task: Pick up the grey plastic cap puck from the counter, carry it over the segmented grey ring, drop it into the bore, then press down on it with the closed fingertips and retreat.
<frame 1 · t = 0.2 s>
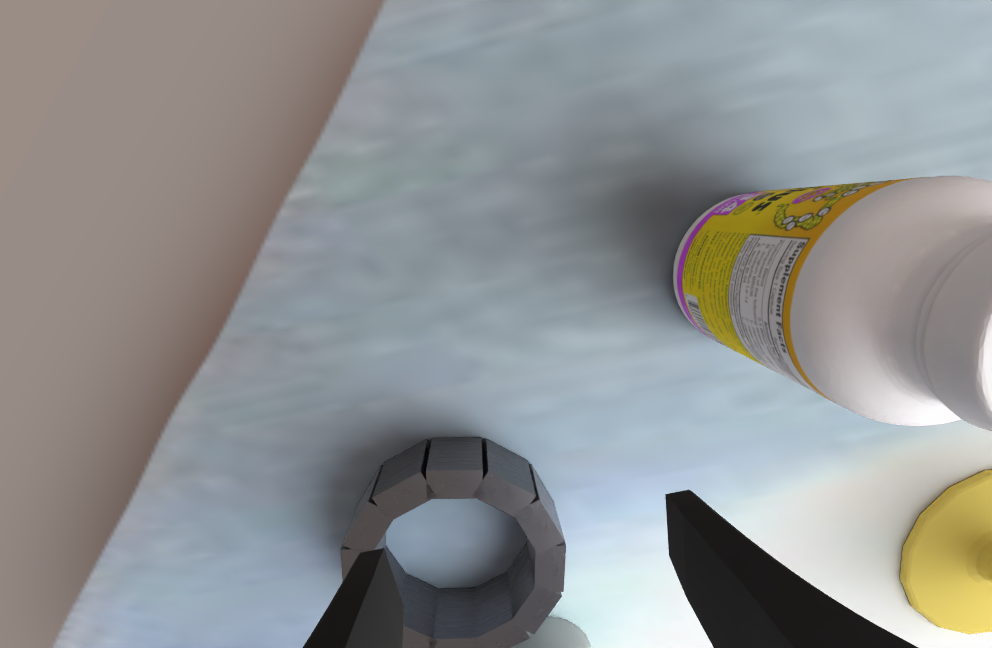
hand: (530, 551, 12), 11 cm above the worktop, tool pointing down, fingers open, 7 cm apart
segmented grey ring: (456, 527, 24), on the worktop
supplement bottle: (736, 268, 22), on the worktop
candle: (987, 548, 26), on the worktop
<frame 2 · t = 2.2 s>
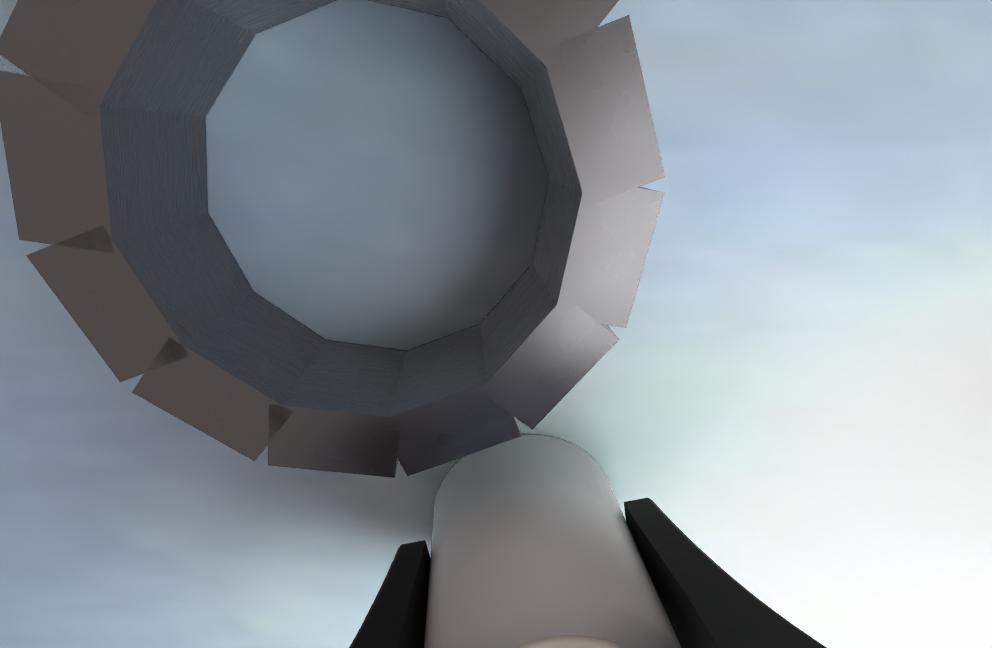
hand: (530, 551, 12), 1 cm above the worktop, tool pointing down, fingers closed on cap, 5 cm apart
segmented grey ring: (380, 195, 10), on the worktop
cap: (523, 510, 14), on the worktop, touching gripper
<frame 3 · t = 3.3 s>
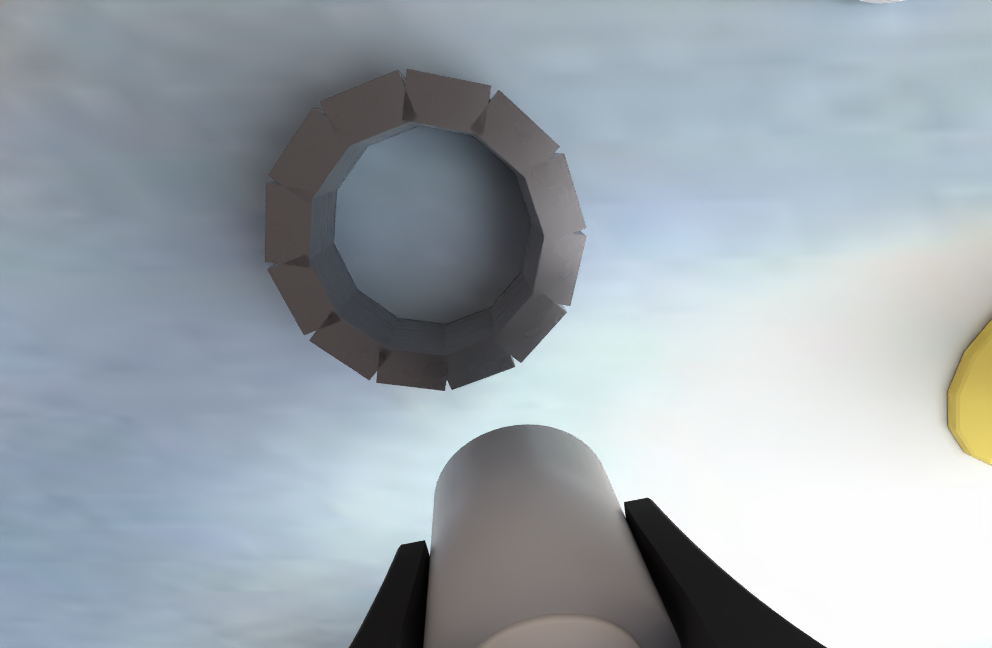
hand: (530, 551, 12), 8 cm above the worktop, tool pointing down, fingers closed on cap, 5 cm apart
segmented grey ring: (433, 232, 18), on the worktop
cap: (521, 500, 14), point 7 cm above the worktop, touching gripper
when the fingers open (5 cm above the worktop, at t = 4.8 s): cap drops 3 cm, resting in segmented grey ring.
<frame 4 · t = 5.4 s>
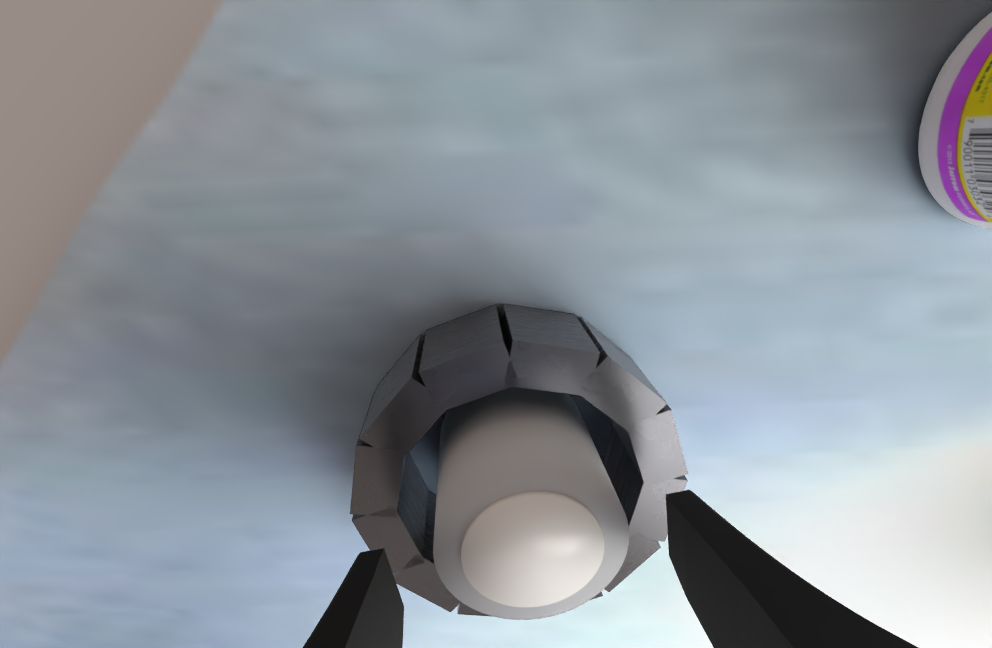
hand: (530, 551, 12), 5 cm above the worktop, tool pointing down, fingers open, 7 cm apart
segmented grey ring: (511, 438, 17), on the worktop
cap: (512, 436, 17), resting in segmented grey ring
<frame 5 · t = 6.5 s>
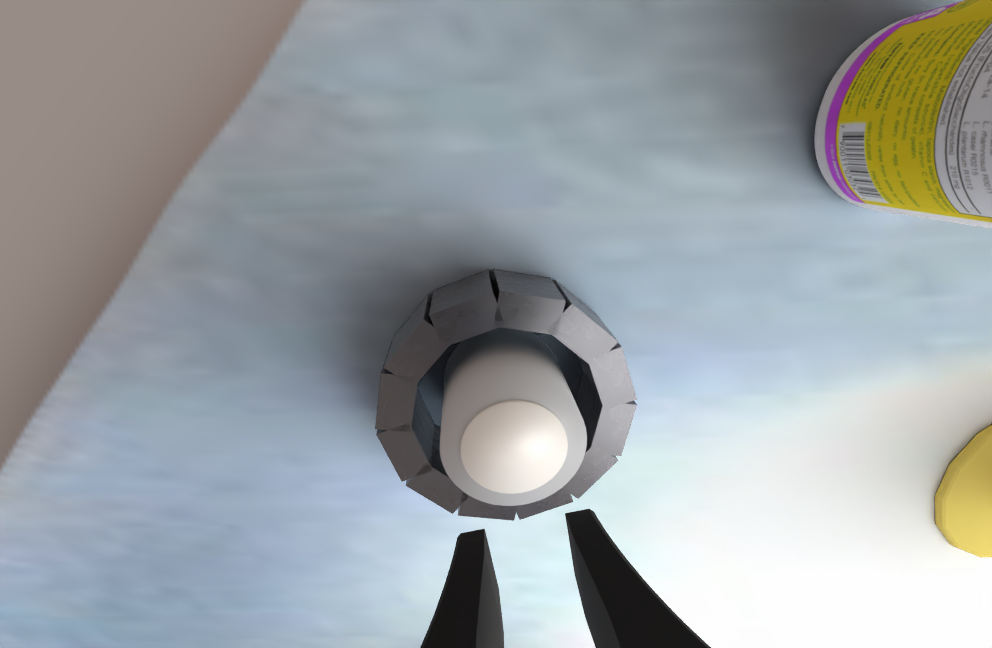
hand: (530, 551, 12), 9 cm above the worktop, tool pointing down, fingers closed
segmented grey ring: (501, 380, 21), on the worktop
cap: (502, 378, 21), resting in segmented grey ring
supplement bottle: (886, 118, 18), on the worktop
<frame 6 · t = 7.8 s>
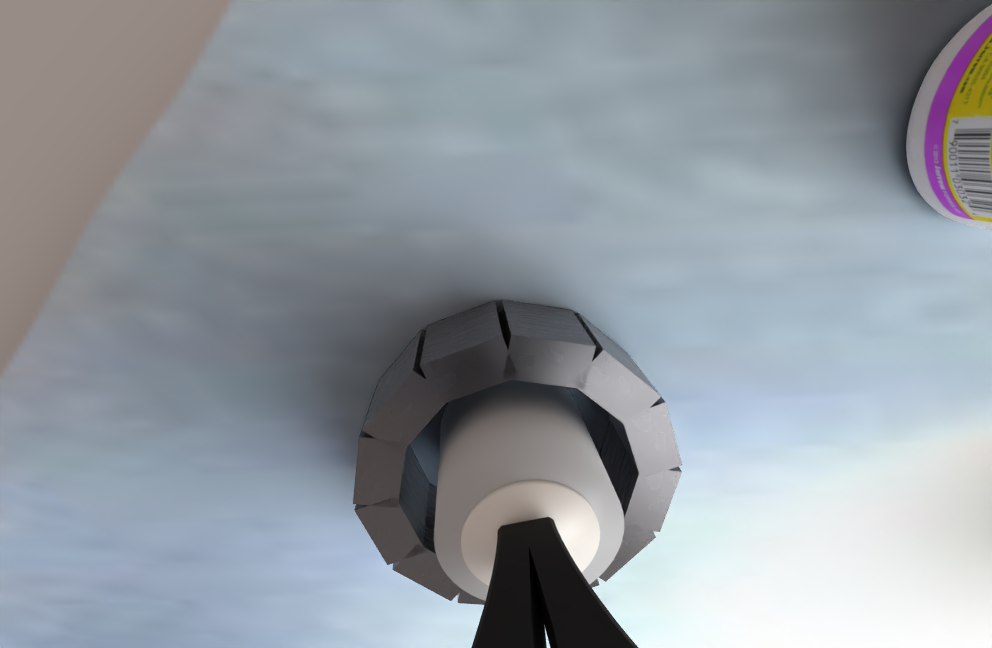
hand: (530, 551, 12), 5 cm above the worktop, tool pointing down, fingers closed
segmented grey ring: (510, 431, 17), on the worktop
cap: (511, 429, 17), resting in segmented grey ring
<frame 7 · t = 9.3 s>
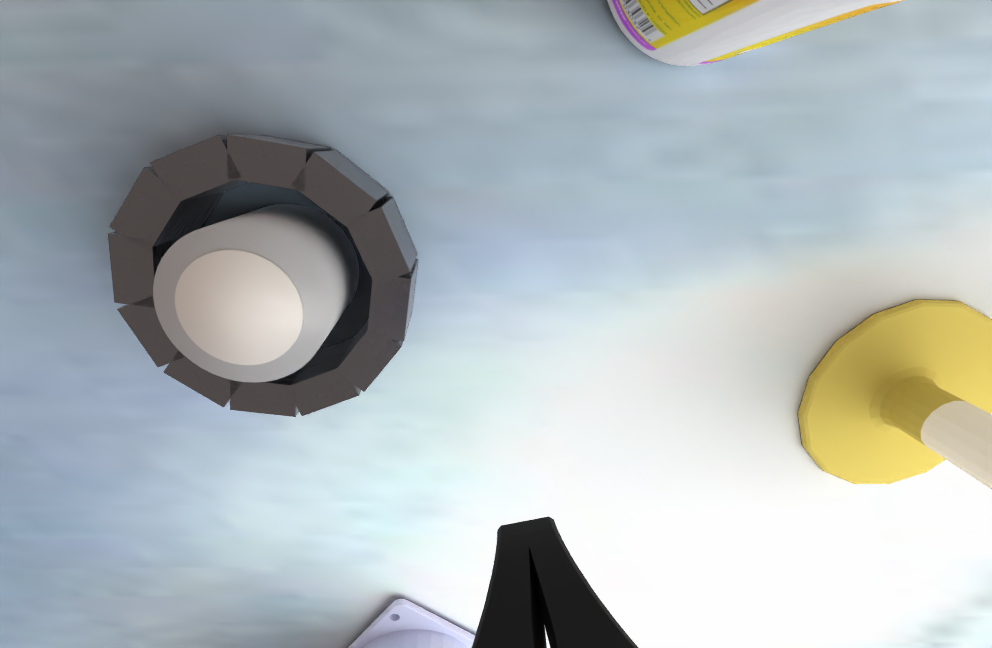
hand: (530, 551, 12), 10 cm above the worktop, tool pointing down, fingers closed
segmented grey ring: (293, 268, 19), on the worktop
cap: (295, 267, 19), resting in segmented grey ring
candle: (895, 394, 24), on the worktop
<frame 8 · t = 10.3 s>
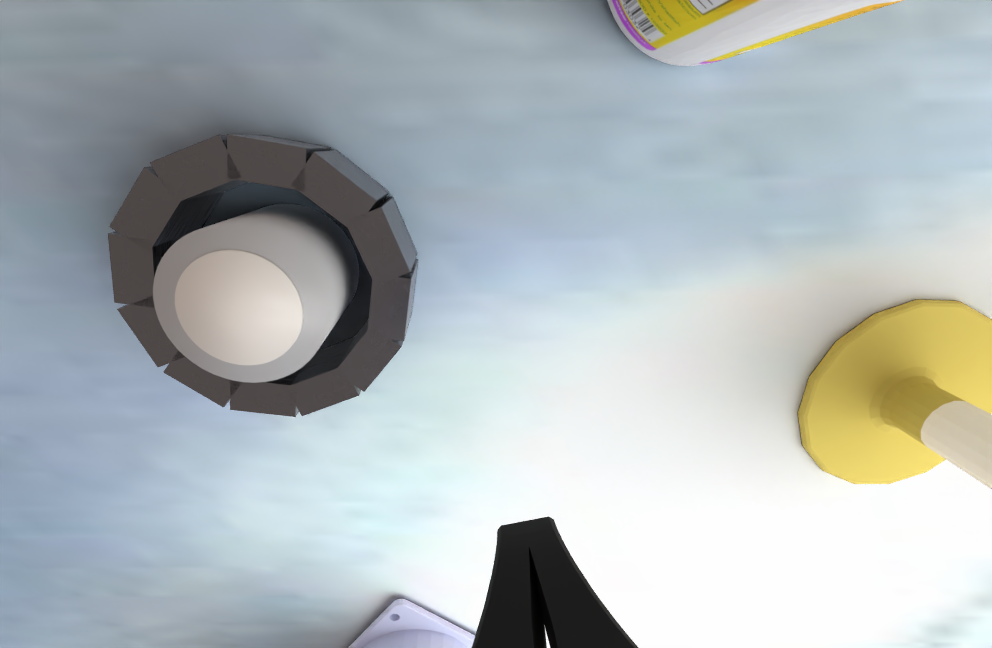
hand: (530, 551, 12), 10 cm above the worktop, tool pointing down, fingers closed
segmented grey ring: (293, 268, 19), on the worktop
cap: (295, 267, 19), resting in segmented grey ring
candle: (895, 394, 24), on the worktop
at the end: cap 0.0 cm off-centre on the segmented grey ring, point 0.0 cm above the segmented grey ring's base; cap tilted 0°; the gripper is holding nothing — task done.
